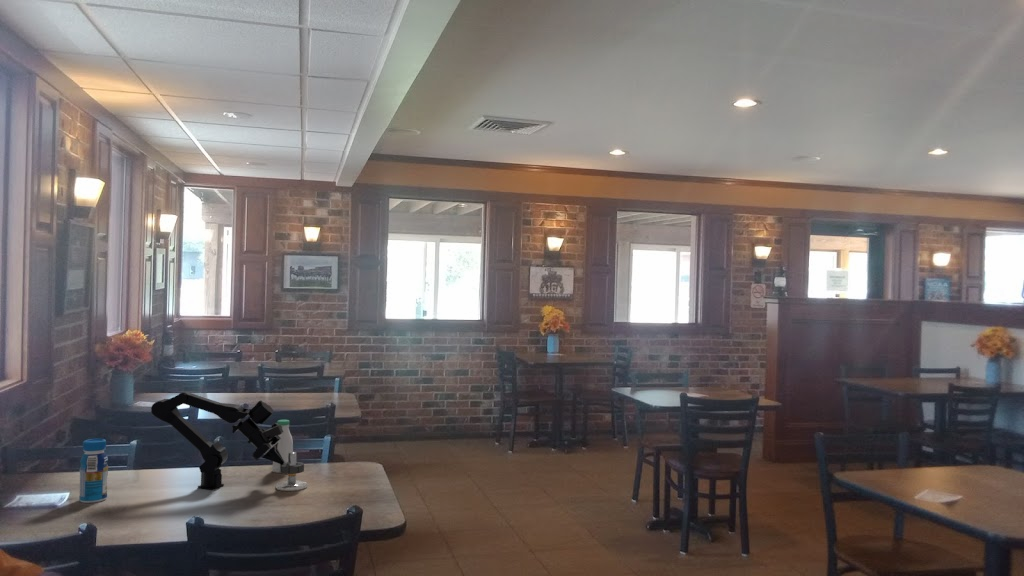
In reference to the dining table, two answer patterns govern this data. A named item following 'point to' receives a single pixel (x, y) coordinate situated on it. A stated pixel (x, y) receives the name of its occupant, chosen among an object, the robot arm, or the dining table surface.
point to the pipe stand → (291, 478)
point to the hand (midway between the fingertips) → (283, 463)
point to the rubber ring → (292, 468)
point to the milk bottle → (283, 444)
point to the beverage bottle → (93, 471)
